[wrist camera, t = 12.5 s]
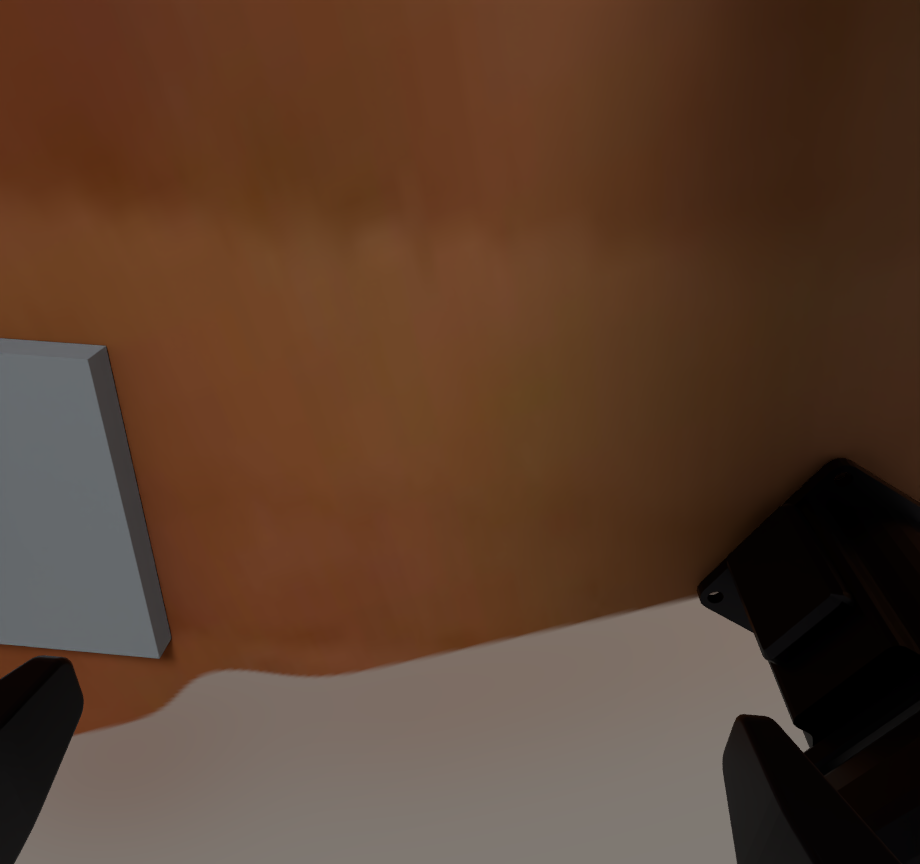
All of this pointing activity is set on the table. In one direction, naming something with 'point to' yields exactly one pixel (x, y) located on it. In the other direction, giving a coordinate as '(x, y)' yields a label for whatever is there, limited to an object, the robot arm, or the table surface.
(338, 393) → the table surface
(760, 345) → the table surface
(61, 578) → the vise
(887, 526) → the robot arm
